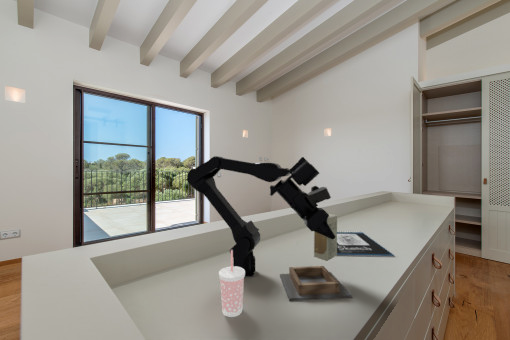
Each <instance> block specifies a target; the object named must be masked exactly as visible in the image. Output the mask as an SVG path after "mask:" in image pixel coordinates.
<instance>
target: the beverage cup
mask: <svg viewBox="0 0 510 340" xmlns="http://www.w3.org/2000/svg"><path fill="white" fill-rule="evenodd" d="M244 276H245V270H244V269H243V268H241V267H238V266H233V250H231V254H230V266H225V267H223V268H221V269H219V271H218V278H219V283H220V296H221V308H222V309H221V310H222V314H223V315H224V316H225V317H229V318H233V317H238V316H240V314H242V313H243V305H244V304H243V303H244V302H243V301H244V283H245V277H244Z"/></svg>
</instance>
